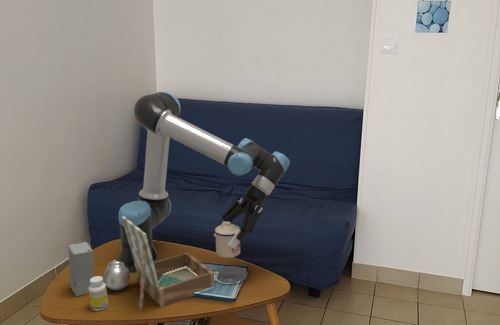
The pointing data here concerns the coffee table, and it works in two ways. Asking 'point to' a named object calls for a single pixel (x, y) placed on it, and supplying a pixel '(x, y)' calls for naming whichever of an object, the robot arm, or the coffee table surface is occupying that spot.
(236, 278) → the trivet
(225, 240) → the teacup with lid
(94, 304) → the supplement bottle
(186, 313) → the coffee table surface
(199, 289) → the open wooden keepsake box
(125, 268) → the silver metal rounded piece
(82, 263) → the skincare box
